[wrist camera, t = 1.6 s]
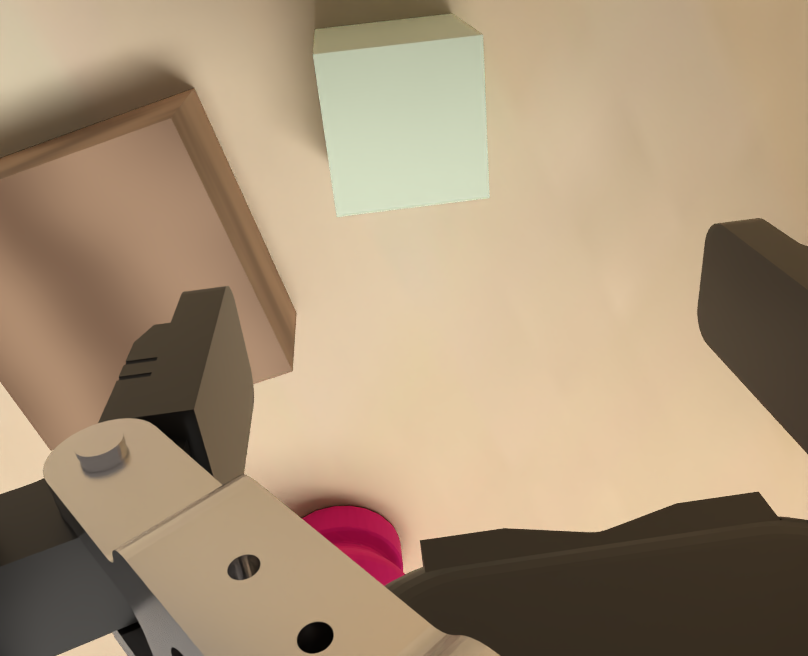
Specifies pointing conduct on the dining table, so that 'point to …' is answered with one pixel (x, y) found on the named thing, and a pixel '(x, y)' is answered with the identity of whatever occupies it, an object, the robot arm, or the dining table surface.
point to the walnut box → (123, 257)
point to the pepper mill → (361, 539)
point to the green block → (403, 113)
